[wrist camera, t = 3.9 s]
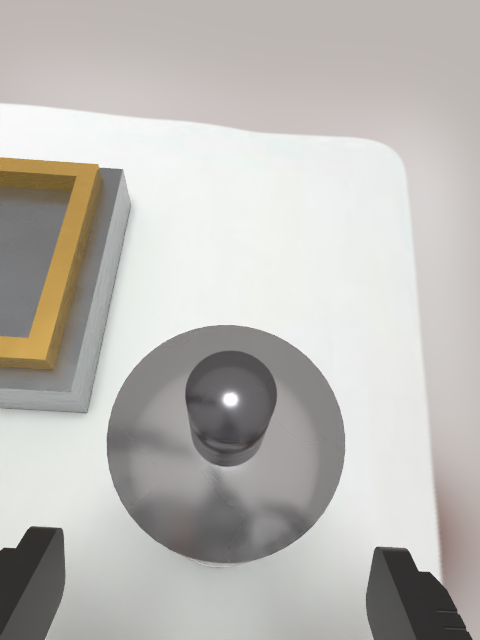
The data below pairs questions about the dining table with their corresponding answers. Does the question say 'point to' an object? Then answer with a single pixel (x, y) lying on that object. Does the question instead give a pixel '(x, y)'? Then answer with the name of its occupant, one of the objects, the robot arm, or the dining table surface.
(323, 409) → the spout can
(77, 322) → the grey square tray
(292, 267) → the dining table surface
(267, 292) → the dining table surface
